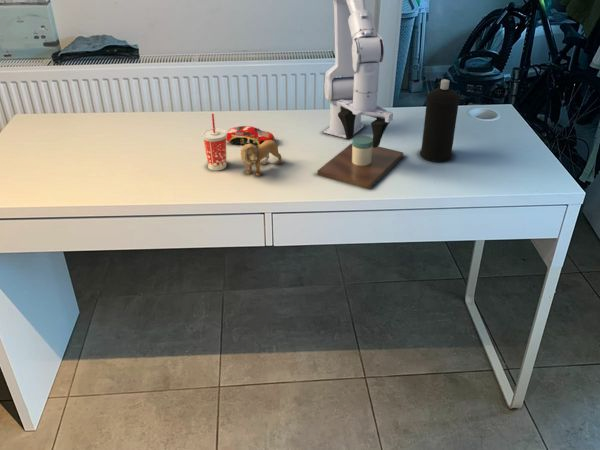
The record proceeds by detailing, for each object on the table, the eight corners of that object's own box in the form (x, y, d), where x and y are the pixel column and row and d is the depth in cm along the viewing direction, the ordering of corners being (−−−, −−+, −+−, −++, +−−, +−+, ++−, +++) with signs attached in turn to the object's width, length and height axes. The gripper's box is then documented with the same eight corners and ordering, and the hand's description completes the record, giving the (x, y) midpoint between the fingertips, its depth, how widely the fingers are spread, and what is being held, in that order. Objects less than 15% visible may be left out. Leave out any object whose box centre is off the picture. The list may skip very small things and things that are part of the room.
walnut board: (354, 144, 165) (355, 140, 165) (403, 156, 159) (403, 152, 158) (317, 174, 151) (317, 170, 150) (368, 189, 145) (369, 184, 144)
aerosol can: (452, 163, 155) (463, 87, 145) (419, 161, 157) (427, 85, 146) (452, 149, 162) (462, 76, 151) (420, 147, 164) (428, 74, 153)
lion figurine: (255, 184, 147) (253, 149, 142) (236, 178, 149) (234, 145, 144) (286, 159, 158) (285, 127, 153) (268, 155, 160) (267, 123, 155)
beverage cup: (233, 162, 157) (229, 111, 149) (222, 173, 152) (218, 120, 144) (211, 159, 158) (207, 107, 151) (200, 169, 154) (195, 117, 146)
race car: (277, 140, 168) (276, 126, 166) (271, 148, 164) (271, 134, 161) (231, 135, 171) (230, 122, 168) (224, 143, 166) (223, 130, 164)
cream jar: (354, 155, 157) (355, 133, 154) (374, 158, 155) (375, 136, 152) (349, 164, 153) (349, 142, 150) (368, 167, 151) (370, 145, 148)
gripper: (330, 87, 145) (329, 140, 152) (383, 101, 138) (379, 155, 145) (346, 79, 150) (345, 130, 157) (399, 91, 142) (394, 145, 150)
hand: (362, 142), depth 151 cm, fingers open, 7 cm apart
